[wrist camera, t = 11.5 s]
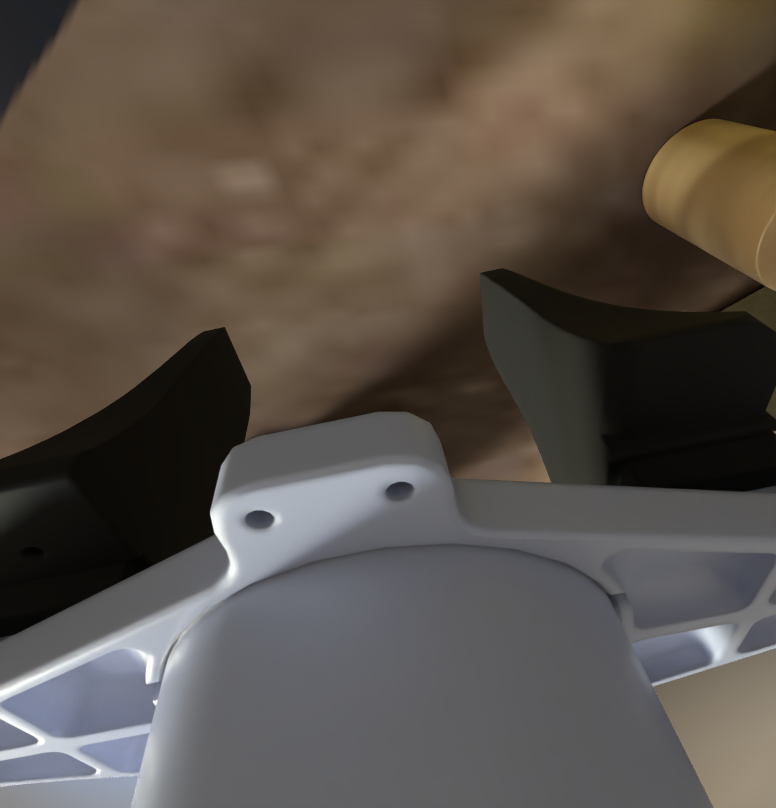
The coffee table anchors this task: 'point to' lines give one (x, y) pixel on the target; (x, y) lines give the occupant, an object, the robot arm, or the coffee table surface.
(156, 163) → the coffee table surface
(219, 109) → the coffee table surface
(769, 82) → the coffee table surface
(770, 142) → the pepper mill
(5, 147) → the coffee table surface
